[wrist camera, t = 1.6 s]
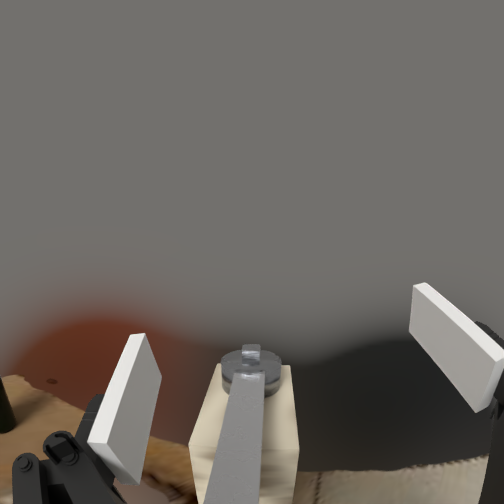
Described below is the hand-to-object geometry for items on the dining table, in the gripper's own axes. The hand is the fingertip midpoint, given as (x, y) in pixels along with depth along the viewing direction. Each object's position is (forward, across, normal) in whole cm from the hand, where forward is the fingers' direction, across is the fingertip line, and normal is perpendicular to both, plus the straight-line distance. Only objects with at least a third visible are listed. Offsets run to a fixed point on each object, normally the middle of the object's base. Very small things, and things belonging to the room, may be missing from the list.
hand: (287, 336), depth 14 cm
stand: (+4, +9, +48) cm, 49 cm away
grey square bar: (+5, +4, +14) cm, 15 cm away
